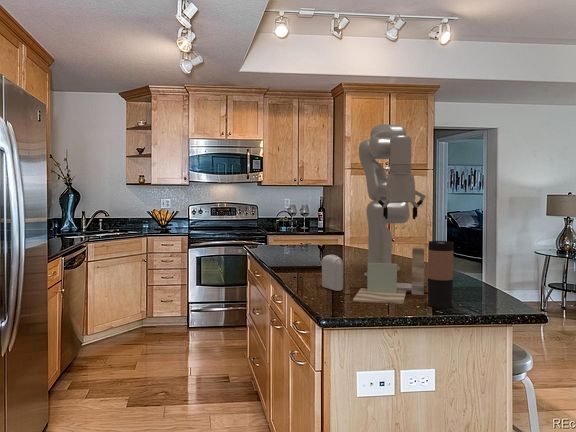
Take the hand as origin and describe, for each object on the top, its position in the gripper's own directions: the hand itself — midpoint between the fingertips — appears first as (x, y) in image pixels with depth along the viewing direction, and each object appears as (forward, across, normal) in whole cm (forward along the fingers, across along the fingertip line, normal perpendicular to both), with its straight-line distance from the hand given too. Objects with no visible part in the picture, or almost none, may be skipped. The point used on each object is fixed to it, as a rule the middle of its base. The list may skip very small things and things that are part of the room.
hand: (400, 219), depth 190 cm
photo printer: (+26, -24, +2) cm, 35 cm away
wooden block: (+26, +6, -2) cm, 27 cm away
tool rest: (+26, +1, +8) cm, 27 cm away
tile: (+20, -6, -5) cm, 22 cm away
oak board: (+26, -7, -10) cm, 29 cm away
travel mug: (+27, +11, -21) cm, 36 cm away
